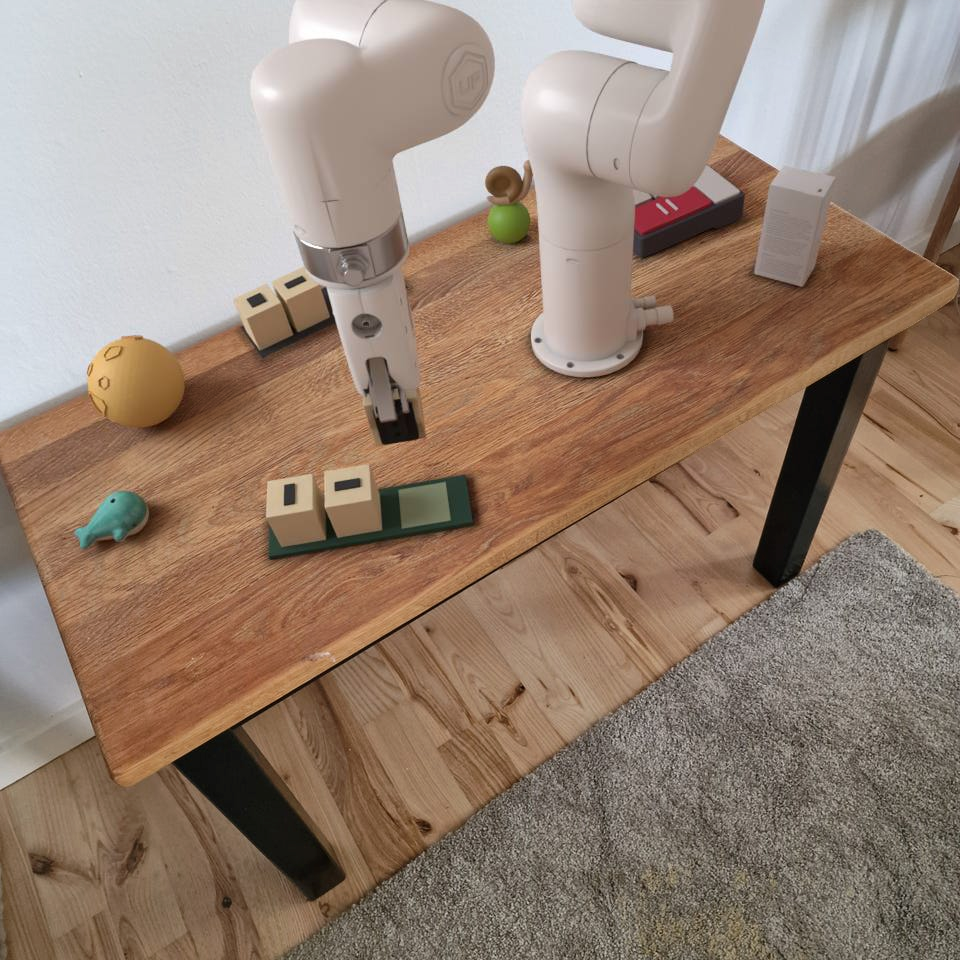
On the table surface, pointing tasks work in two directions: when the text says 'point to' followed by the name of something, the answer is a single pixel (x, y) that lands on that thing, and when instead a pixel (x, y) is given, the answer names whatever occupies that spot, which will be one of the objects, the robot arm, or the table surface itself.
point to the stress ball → (135, 382)
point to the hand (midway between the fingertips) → (398, 416)
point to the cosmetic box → (793, 225)
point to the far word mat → (284, 312)
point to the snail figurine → (508, 202)
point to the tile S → (411, 396)
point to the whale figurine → (115, 519)
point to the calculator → (685, 212)
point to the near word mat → (359, 510)
